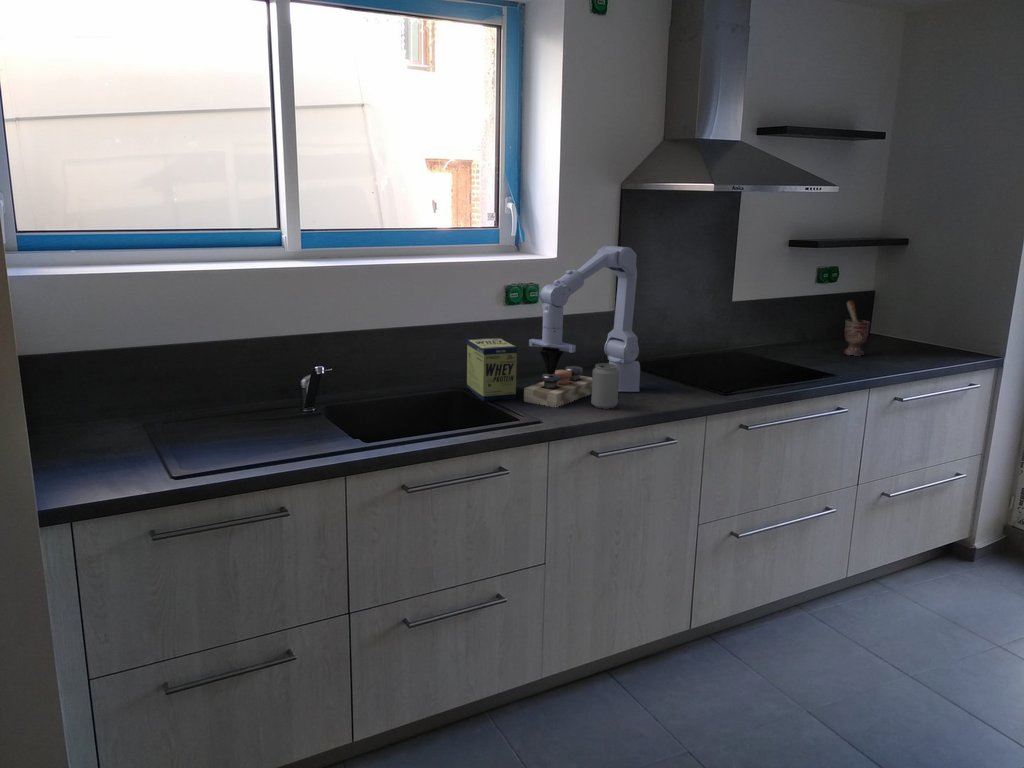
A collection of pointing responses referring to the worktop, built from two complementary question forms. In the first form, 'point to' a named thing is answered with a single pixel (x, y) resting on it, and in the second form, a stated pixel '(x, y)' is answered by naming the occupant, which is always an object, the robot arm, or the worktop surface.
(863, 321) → the mortar and pestle
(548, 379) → the knob
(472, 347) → the protein box
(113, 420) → the worktop surface
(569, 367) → the knob
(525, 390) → the console
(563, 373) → the knob middle
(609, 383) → the can
